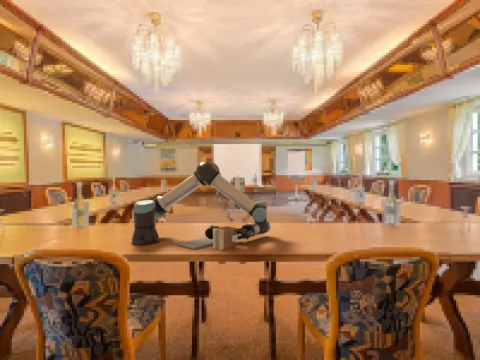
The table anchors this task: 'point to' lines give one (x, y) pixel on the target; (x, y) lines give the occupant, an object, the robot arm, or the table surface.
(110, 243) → the table surface
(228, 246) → the walnut box
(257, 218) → the robot arm
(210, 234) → the end cap
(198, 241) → the gray board
